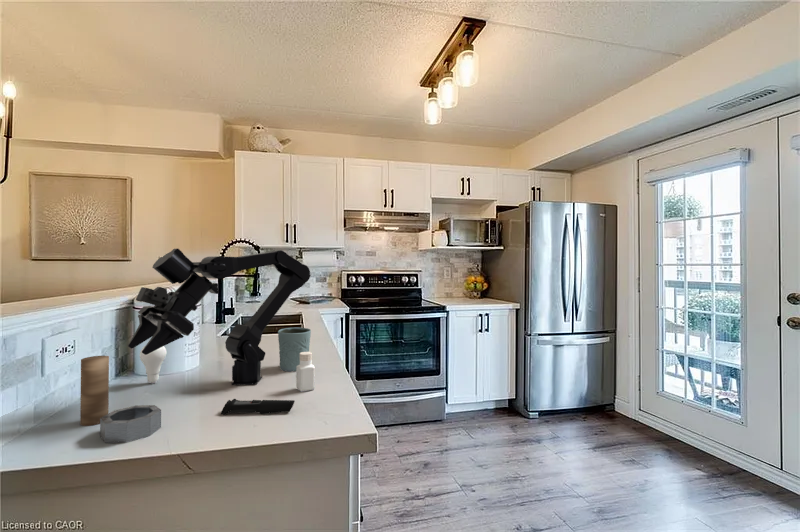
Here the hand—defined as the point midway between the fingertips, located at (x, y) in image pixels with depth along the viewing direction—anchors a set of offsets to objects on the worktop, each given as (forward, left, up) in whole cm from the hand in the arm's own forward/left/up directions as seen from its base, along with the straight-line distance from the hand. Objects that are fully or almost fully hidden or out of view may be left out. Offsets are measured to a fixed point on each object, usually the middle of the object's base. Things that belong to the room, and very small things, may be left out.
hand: (136, 350), depth 84 cm
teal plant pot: (-28, -33, -13) cm, 46 cm away
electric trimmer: (-27, +3, -14) cm, 31 cm away
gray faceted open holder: (-6, +12, -13) cm, 19 cm away
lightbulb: (+7, -19, -13) cm, 24 cm away
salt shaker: (-35, -12, -13) cm, 39 cm away
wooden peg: (+4, +6, -13) cm, 15 cm away
